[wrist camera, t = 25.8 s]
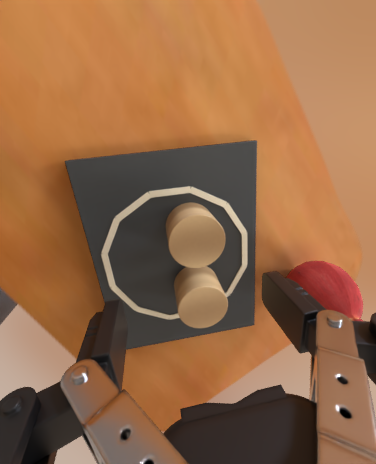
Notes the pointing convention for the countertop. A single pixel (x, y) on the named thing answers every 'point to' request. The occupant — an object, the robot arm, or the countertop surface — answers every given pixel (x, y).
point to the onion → (330, 287)
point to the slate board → (154, 231)
